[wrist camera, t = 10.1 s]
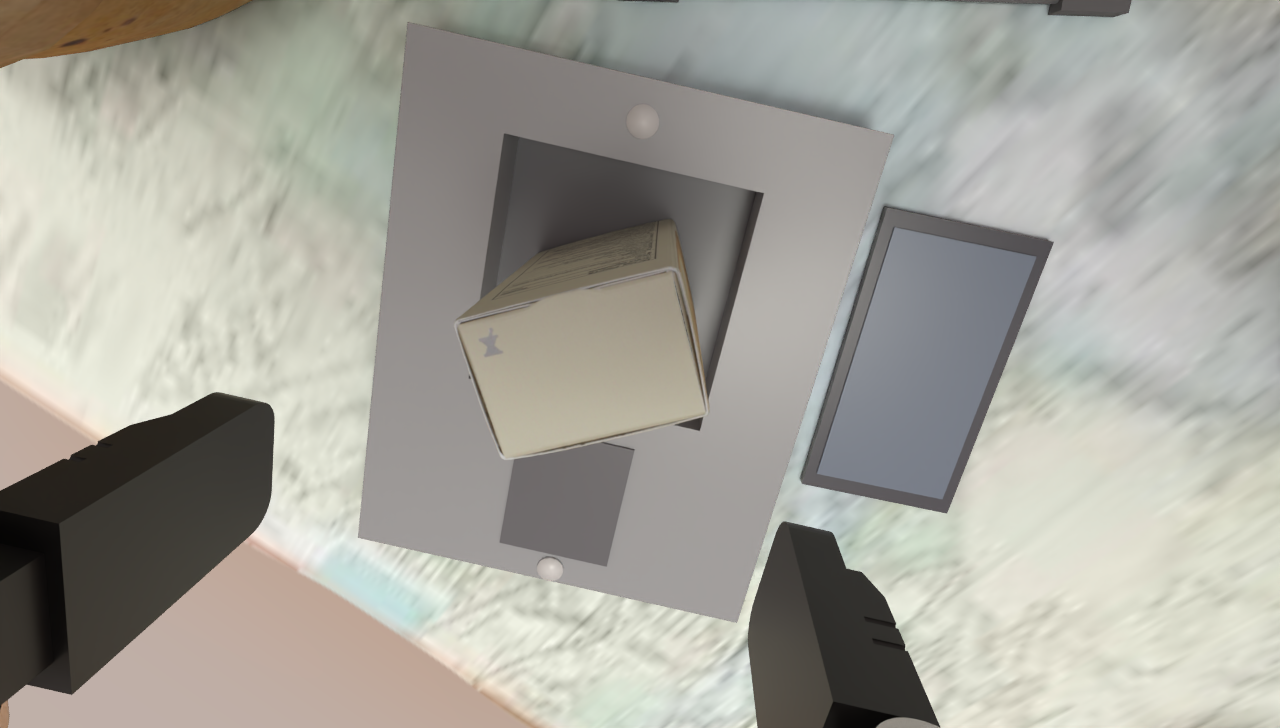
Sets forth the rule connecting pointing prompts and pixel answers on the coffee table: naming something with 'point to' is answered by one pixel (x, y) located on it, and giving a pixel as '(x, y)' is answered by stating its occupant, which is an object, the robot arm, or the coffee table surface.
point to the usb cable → (1056, 6)
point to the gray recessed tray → (576, 210)
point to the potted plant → (95, 23)
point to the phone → (922, 357)
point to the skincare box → (587, 344)
